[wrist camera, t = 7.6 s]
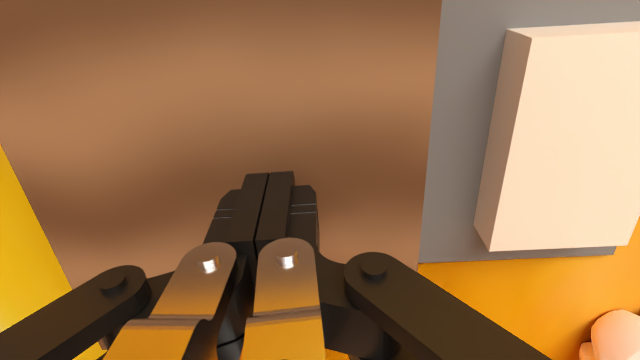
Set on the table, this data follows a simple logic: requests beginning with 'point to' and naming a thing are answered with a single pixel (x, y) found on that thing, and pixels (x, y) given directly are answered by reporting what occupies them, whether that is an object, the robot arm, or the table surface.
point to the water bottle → (613, 337)
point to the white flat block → (563, 140)
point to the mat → (483, 115)
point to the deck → (215, 119)
